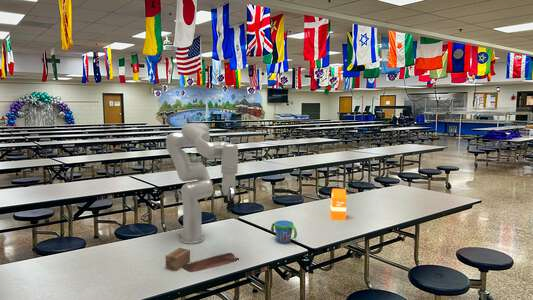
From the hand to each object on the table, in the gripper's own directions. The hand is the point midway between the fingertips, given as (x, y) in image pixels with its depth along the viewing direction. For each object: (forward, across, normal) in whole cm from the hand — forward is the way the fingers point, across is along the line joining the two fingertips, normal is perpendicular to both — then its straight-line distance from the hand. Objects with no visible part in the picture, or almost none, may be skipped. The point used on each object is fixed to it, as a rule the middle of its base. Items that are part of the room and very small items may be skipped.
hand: (228, 205), depth 170 cm
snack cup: (+26, -13, +33) cm, 44 cm away
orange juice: (+26, -43, +81) cm, 96 cm away
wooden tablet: (+26, +4, -9) cm, 28 cm away
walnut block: (+26, +3, -23) cm, 35 cm away
